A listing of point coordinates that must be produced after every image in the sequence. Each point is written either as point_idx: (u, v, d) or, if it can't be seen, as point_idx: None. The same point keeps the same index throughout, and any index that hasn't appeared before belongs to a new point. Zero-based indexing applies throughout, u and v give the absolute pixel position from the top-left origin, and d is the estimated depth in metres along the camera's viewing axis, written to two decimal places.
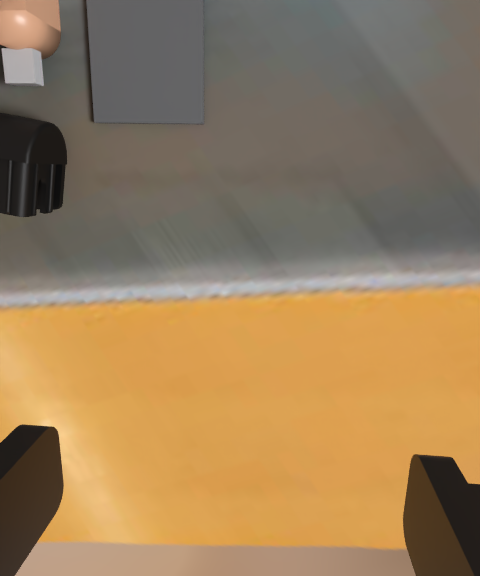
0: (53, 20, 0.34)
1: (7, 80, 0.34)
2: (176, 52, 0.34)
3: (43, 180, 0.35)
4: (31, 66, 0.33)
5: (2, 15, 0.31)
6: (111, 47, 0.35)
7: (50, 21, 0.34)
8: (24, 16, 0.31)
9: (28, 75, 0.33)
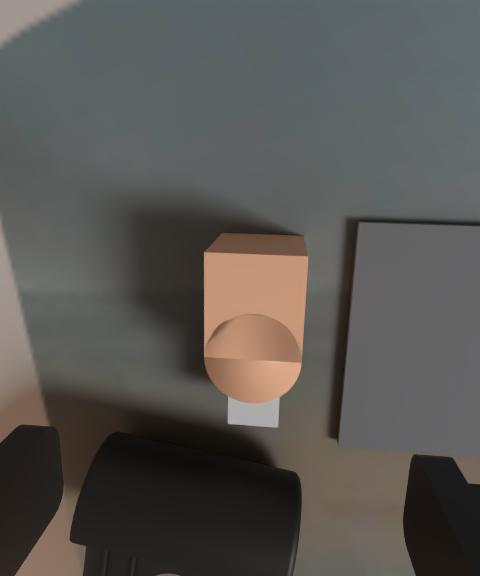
0: None
1: (231, 420, 0.21)
2: None
3: None
4: (274, 405, 0.21)
5: (258, 366, 0.18)
6: (383, 353, 0.22)
7: None
8: (298, 371, 0.18)
9: (267, 416, 0.21)
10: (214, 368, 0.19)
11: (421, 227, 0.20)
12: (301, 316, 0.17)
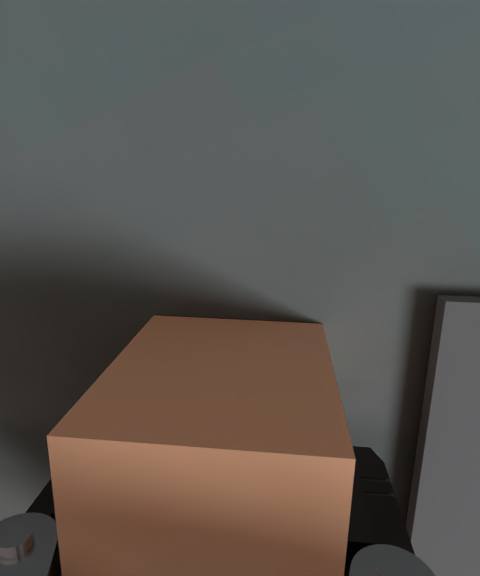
0: None
1: None
2: None
3: None
4: None
5: None
6: None
7: None
8: None
9: None
10: None
11: None
12: None
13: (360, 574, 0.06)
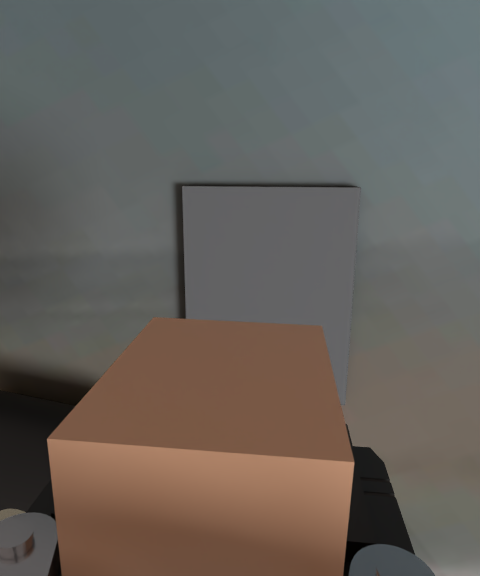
0: None
1: None
2: (312, 317, 0.24)
3: None
4: None
5: None
6: (217, 307, 0.24)
7: None
8: None
9: None
10: None
11: (237, 189, 0.23)
12: None
13: (360, 574, 0.06)
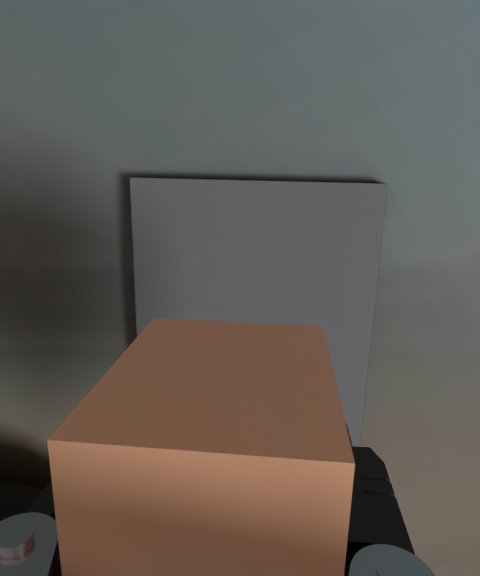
0: None
1: None
2: None
3: None
4: None
5: None
6: None
7: None
8: None
9: None
10: None
11: (208, 184, 0.16)
12: None
13: (360, 574, 0.06)
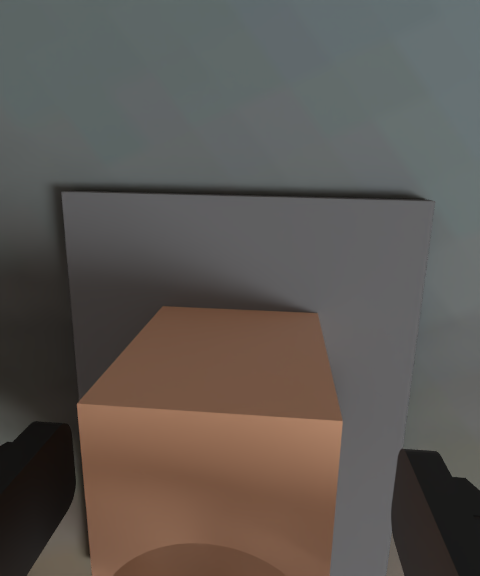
0: None
1: None
2: None
3: None
4: None
5: None
6: None
7: None
8: None
9: None
10: None
11: (174, 200, 0.11)
12: (323, 556, 0.07)
13: None
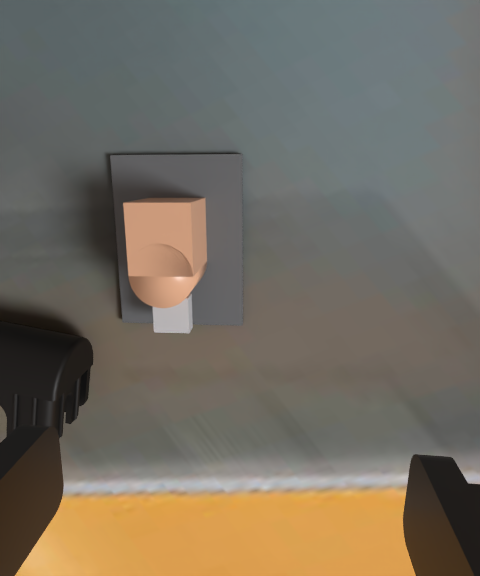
0: (203, 255, 0.31)
1: (156, 329, 0.30)
2: (213, 255, 0.31)
3: (69, 392, 0.32)
4: (185, 316, 0.29)
5: (165, 281, 0.27)
6: None
7: (202, 260, 0.30)
8: (191, 283, 0.27)
9: (181, 325, 0.30)
10: (136, 284, 0.27)
11: (151, 157, 0.30)
12: (190, 244, 0.26)
13: None
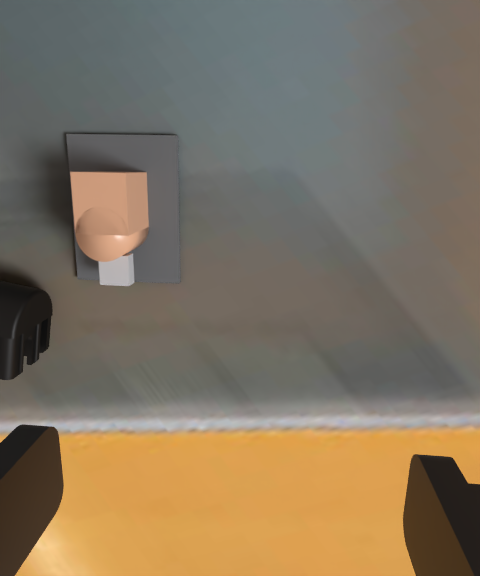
0: (144, 221, 0.36)
1: (102, 282, 0.35)
2: (153, 222, 0.37)
3: (29, 337, 0.38)
4: (125, 271, 0.35)
5: (105, 239, 0.32)
6: None
7: (142, 225, 0.35)
8: (127, 241, 0.32)
9: (122, 279, 0.35)
10: (81, 241, 0.33)
11: (100, 136, 0.35)
12: (125, 207, 0.32)
13: None
